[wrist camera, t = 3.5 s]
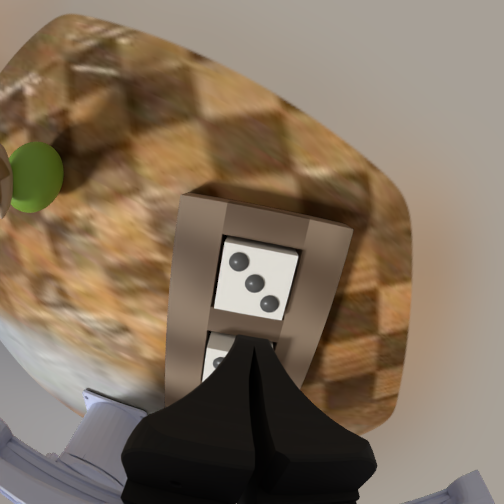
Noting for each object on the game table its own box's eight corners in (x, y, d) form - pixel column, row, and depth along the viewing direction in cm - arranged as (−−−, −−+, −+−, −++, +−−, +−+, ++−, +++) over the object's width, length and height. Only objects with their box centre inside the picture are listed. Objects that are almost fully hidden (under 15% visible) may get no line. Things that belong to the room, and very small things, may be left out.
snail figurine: (77, 126, 17) (-43, 113, 6) (77, 205, 19) (-42, 243, 7) (34, 137, 17) (-73, 139, 6) (34, 208, 19) (-70, 242, 8)
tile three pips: (279, 303, 21) (281, 321, 18) (218, 292, 20) (213, 308, 18) (293, 245, 19) (298, 256, 17) (229, 233, 19) (224, 242, 17)
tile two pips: (259, 382, 21) (259, 403, 19) (205, 372, 21) (200, 393, 19) (272, 339, 20) (273, 360, 18) (212, 328, 20) (206, 348, 18)
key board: (271, 436, 25) (272, 450, 23) (169, 418, 25) (165, 432, 23) (344, 223, 19) (353, 229, 17) (188, 192, 19) (180, 194, 17)
